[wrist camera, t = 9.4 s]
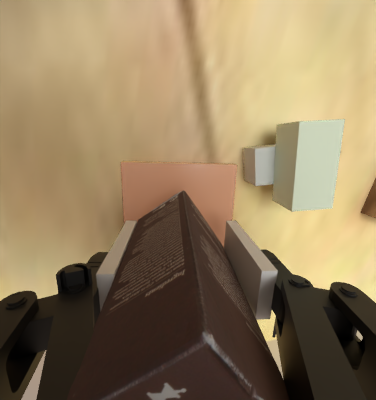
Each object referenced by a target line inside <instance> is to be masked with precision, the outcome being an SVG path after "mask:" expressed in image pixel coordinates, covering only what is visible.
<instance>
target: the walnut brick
mask: <svg viewBox="0 0 376 400" xmlns="http://www.w3.org/2000/svg"><path fill="white" fill-rule="evenodd" d="M361 213H364V214H367V215H369V216H372V217H375V218H376V179H375V181H374V183H373V186H372V188H371V190H370V192H369V195H368V197H367V199H366V201H365V204H364V206H363V208H362V211H361Z"/></svg>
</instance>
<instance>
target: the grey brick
mask: <svg viewBox="0 0 376 400" xmlns="http://www.w3.org/2000/svg"><path fill="white" fill-rule="evenodd" d="M275 147H276V144H271V145H263V146H254V147H245V148H243V158H244V180H245V181H247V182H249V183H251V184H253V185H255V186H261V185H269V184H273V181H274V164H275Z"/></svg>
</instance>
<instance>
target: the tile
mask: <svg viewBox="0 0 376 400" xmlns="http://www.w3.org/2000/svg"><path fill="white" fill-rule="evenodd" d="M236 173H237V165H236V164H222V163H181V162H139V161H122V162H121V176H122V195H123V214H124V224H125V222H126V220H137V222H138V219H140V218H142V217H143V216H144V215H146V214H147V213H149V212H150V211H152V210H153V209H155V208H156V207H158V206H159V205H161V204H162V203H163V202H165V201H167V200H168V199H170V198H171V197H172V196H174V195H175V194H177V193H179V192H181V191H183V190H184V191H185V192H186V193H187V195H188V196H189V197H190V199H191V200H192V201H193V203H194V204H195V206H196V207H197V209H198V210H199V211H200V213H201V214H202V216H203V217H204V219H205V220H206V222H207V223H208V224H209V226H210V227H211V229H212V230H213V232H214V233H215V235H216V236H217V238H218V239H219V241H220V242H221V244H222V245H223V247H224V240H225V228H226V221H232V216H233V205H234V194H235V184H236Z"/></svg>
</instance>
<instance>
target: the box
mask: <svg viewBox="0 0 376 400" xmlns="http://www.w3.org/2000/svg"><path fill="white" fill-rule="evenodd" d="M67 400H290V399H289V396H288V392H287V389H286V386H285V382H284V380H283V378H282V376H281V373H280V371H279V369H278V367H277V364H276V362H275V360H274V358H273V356H272V354H271V352H270V350H269V348H268V345H267V343H266V341H265V339H264V336H263V334H262V332H261V330H260V327H259V325H258V323H257V320H256V318H255V316H254V314H253V311H252V309H251V307H250V305H249V303H248V300H247V298H246V296H245V293H244V291H243V289H242V287H241V285H240V282H239V280H238V278H237V276H236V273H235V271H234V269H233V267H232V265H231V263H230V260H229V258H228V256H227V254H226V252H225V250H224V247H223V245H222V244H221V242H220V241H219V239H218V238H217V236H216V235H215V233H214V232H213V230H212V229H211V227H210V226H209V224H208V223H207V222H206V220H205V219H204V217H203V216H202V214H201V213H200V211H199V210H198V209H197V207H196V206H195V204H194V203H193V201H192V200H191V199H190V197H189V196H188V195H187V193H186V192H185V191H184V190H183V191H181V192H179V193H177V194H175V195H174V196H172V197H171V198H170V199H168V200H167V201H165V202H163V203H162V204H161V205H159V206H158V207H156V208H155V209H153V210H152V211H150V212H149V213H147V214H146V215H144V216H143V217H142V218H140V219H138V222H137V224H136V227H135V229H134V231H133V234H132V236H131V239H130V241H129V244H128V246H127V248H126V251H125V253H124V256H123V258H122V260H121V263H120V265H119V267H118V270H117V272H116V275H115V277H114V280H113V282H112V285H111V287H110V290H109V292H108V295H107V297H106V299H105V302H104V304H103V307H102V309H101V312H100V314H99V316H98V318H97V321H96V323H95V325H94V332H93V335H92V337H91V340H90V343H89V345H88V347H87V350H86V353H85V355H84V358H83V361H82V363H81V366H80V369H79V371H78V373H77V375H76V378H75V380H74V382H73V384H72V386H71V388H70V391H69V394H68V397H67Z"/></svg>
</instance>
